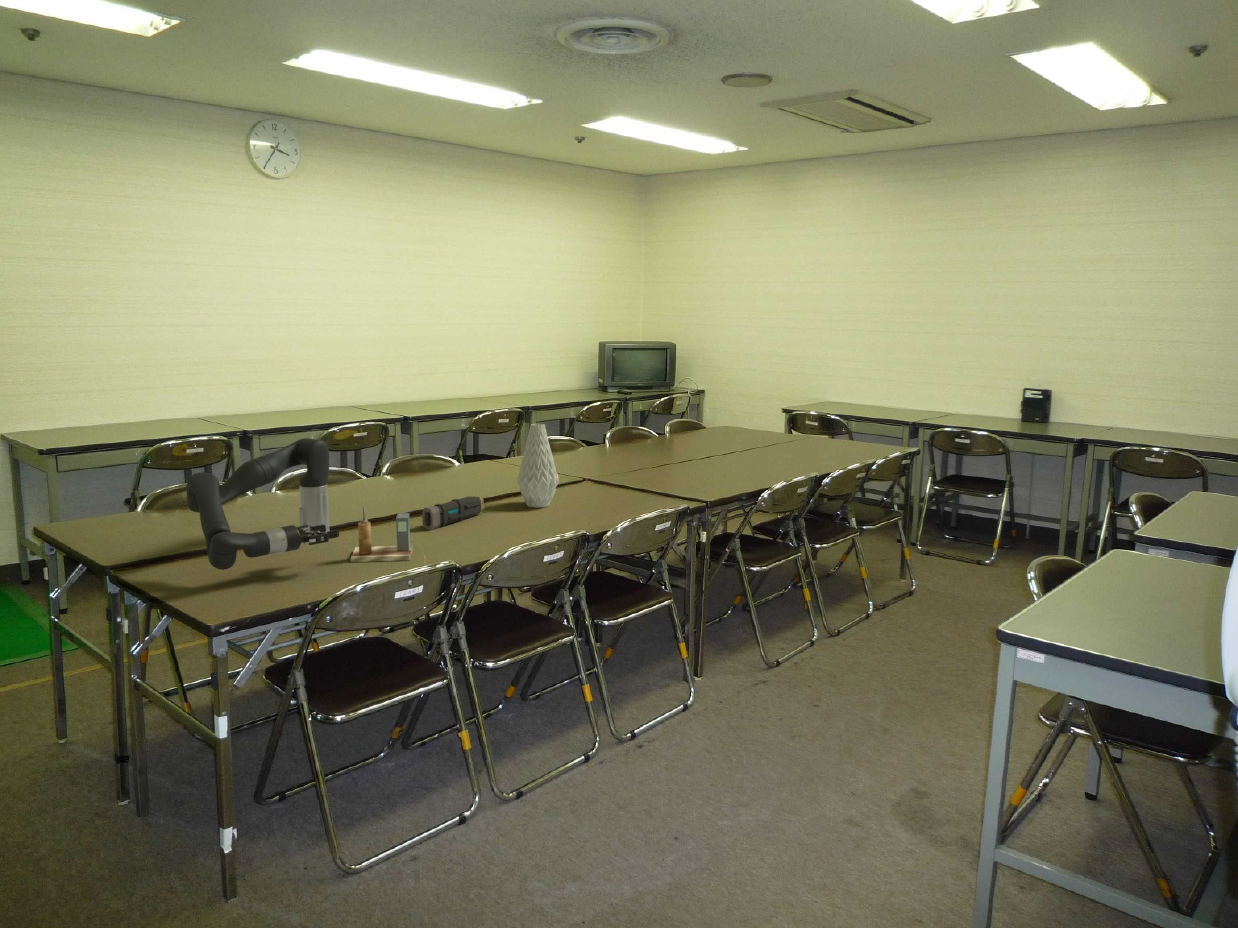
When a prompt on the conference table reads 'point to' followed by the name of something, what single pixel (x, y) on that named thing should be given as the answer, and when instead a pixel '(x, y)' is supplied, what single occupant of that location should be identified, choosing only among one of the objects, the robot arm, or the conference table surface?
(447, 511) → the tube
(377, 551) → the board
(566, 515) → the conference table surface
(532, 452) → the vase
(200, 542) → the conference table surface
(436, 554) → the conference table surface
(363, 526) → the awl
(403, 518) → the block
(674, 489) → the conference table surface
